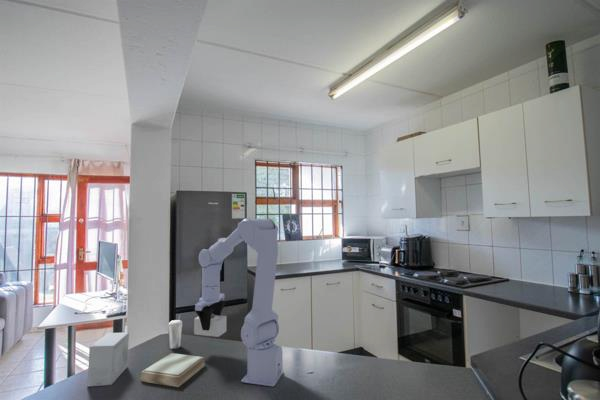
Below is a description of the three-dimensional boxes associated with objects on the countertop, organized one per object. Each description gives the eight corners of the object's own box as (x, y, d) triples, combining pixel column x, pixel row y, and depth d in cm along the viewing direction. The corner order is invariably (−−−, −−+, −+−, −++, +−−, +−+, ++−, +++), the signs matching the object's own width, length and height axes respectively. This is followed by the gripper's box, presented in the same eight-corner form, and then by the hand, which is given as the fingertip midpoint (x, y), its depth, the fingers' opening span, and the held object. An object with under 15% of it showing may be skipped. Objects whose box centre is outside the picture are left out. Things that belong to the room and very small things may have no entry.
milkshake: (185, 343, 108) (185, 315, 108) (178, 350, 102) (178, 320, 103) (173, 343, 108) (173, 314, 109) (165, 349, 103) (165, 319, 104)
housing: (226, 331, 101) (226, 313, 101) (218, 336, 96) (218, 318, 97) (202, 328, 103) (203, 311, 104) (194, 334, 99) (194, 316, 99)
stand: (204, 366, 91) (204, 356, 91) (178, 387, 79) (178, 376, 80) (170, 361, 94) (170, 352, 94) (140, 381, 83) (141, 370, 83)
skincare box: (112, 385, 81) (114, 344, 82) (86, 387, 80) (88, 346, 81) (128, 366, 91) (129, 331, 92) (105, 368, 90) (106, 332, 91)
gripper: (212, 280, 109) (212, 319, 108) (187, 289, 95) (186, 333, 94) (229, 281, 107) (229, 320, 106) (206, 290, 93) (206, 335, 92)
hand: (210, 326), depth 100 cm, fingers closed on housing, 5 cm apart
